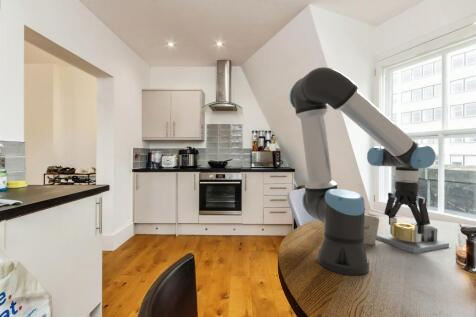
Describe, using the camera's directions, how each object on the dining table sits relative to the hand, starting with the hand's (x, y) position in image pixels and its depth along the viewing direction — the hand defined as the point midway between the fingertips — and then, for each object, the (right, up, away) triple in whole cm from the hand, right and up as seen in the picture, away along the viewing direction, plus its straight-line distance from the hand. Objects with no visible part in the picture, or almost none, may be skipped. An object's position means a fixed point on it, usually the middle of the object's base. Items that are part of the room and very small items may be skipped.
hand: (404, 237), depth 96 cm
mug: (-16, -3, +3) cm, 17 cm away
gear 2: (+10, -2, +4) cm, 11 cm away
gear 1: (0, 0, 0) cm, 0 cm away
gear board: (+4, -3, +3) cm, 6 cm away
